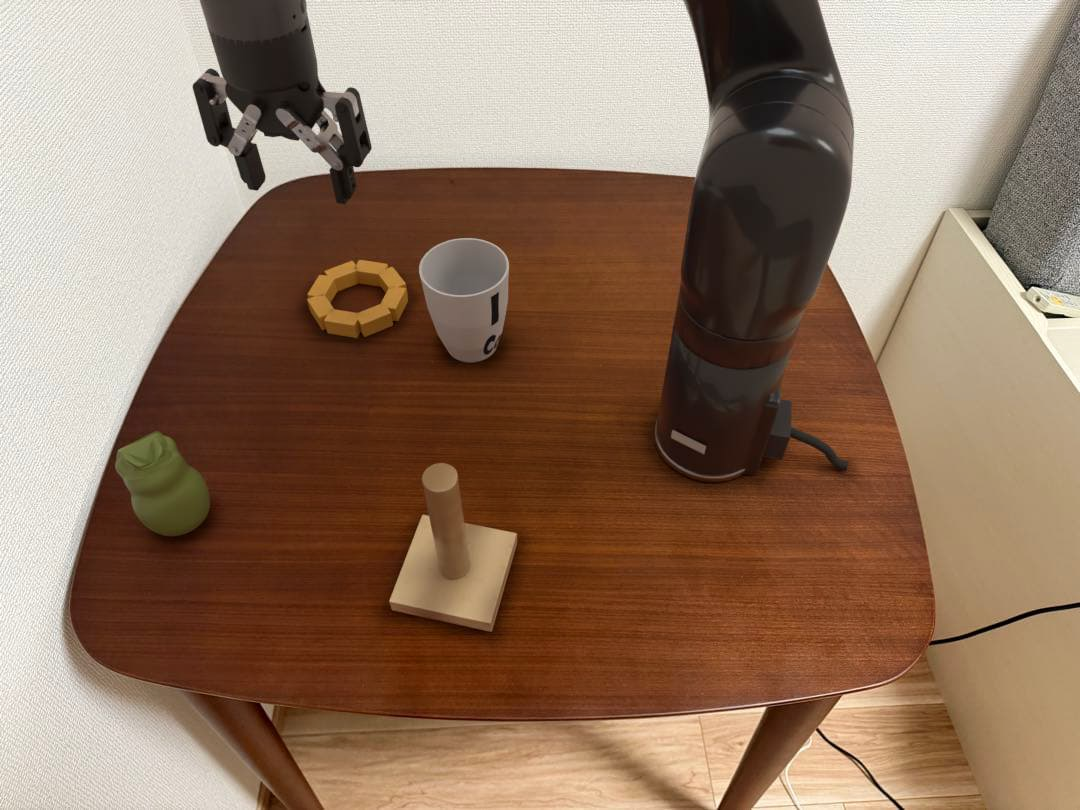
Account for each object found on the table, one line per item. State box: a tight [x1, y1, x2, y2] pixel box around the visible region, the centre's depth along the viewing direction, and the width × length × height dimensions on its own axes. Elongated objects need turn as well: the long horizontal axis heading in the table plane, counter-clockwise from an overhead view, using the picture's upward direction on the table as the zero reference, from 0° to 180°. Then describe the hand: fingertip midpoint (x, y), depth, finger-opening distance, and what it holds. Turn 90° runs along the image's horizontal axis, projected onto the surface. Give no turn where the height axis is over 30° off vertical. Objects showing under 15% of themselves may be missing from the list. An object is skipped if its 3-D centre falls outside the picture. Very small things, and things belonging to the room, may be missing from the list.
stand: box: [388, 462, 518, 633], centre depth 60 cm, size 8×8×14 cm
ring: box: [306, 259, 409, 339], centre depth 85 cm, size 10×10×2 cm
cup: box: [418, 237, 510, 363], centre depth 78 cm, size 8×8×10 cm
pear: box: [114, 430, 211, 537], centre depth 65 cm, size 6×5×10 cm
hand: (301, 192), depth 75 cm, fingers open, 8 cm apart
